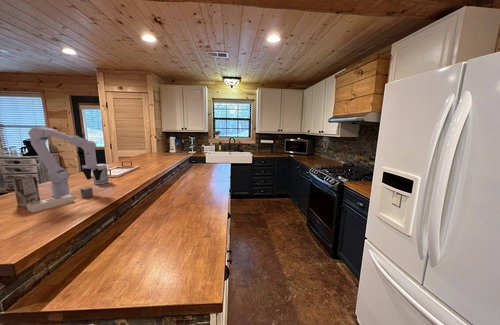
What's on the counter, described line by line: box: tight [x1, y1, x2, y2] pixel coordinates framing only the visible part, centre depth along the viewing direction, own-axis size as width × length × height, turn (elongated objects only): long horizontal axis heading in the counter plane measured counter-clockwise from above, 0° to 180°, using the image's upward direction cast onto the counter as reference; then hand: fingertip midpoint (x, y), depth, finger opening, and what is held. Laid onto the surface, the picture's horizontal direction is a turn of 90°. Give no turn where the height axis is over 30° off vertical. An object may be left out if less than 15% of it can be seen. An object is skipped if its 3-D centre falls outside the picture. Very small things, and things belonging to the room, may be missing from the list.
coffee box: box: [11, 175, 41, 208], centre depth 115 cm, size 9×6×16 cm
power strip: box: [26, 194, 75, 213], centre depth 115 cm, size 18×6×4 cm, turn 154°
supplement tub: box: [91, 163, 110, 185], centre depth 160 cm, size 10×10×15 cm
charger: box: [78, 186, 94, 199], centre depth 129 cm, size 6×4×5 cm
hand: (93, 179), depth 135 cm, fingers open, 7 cm apart
